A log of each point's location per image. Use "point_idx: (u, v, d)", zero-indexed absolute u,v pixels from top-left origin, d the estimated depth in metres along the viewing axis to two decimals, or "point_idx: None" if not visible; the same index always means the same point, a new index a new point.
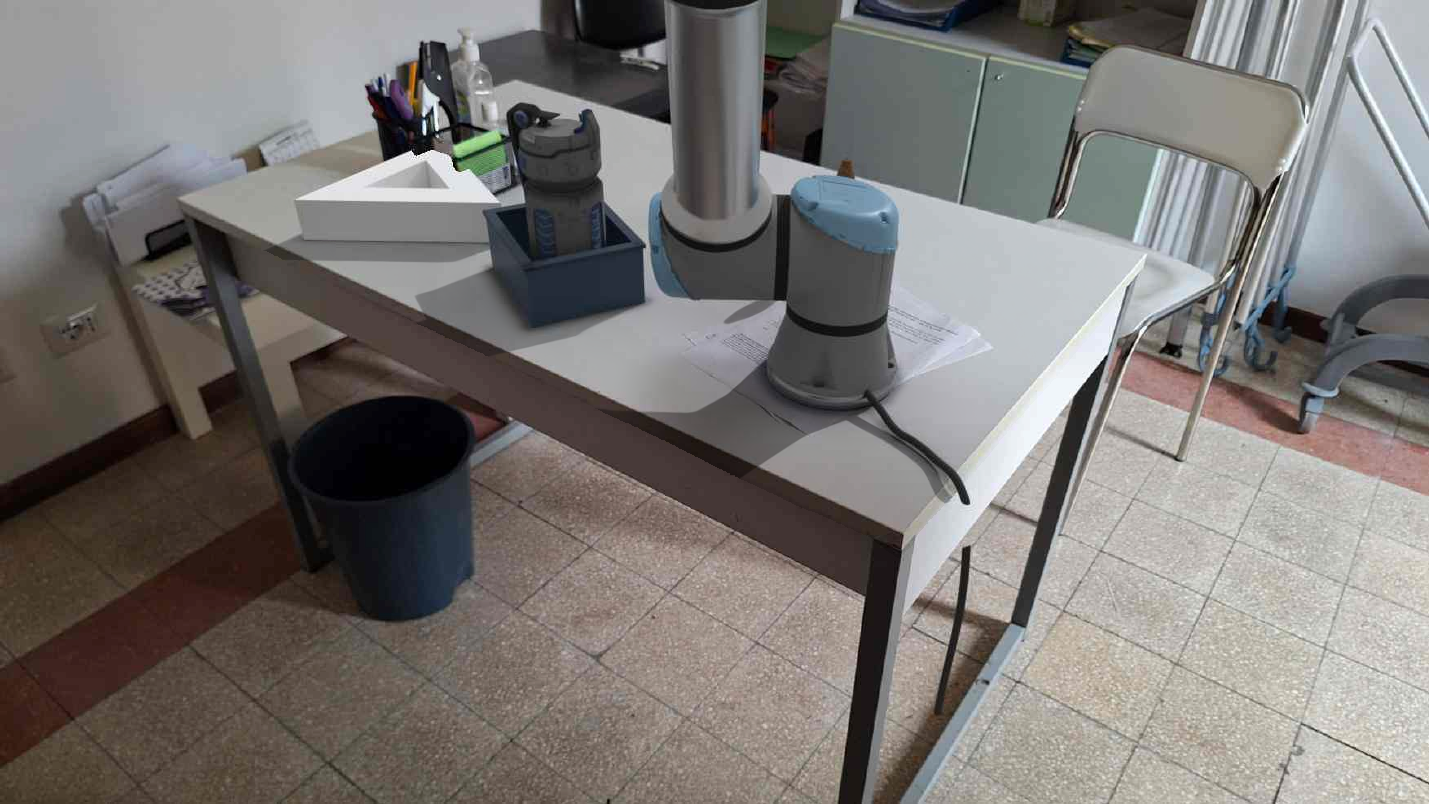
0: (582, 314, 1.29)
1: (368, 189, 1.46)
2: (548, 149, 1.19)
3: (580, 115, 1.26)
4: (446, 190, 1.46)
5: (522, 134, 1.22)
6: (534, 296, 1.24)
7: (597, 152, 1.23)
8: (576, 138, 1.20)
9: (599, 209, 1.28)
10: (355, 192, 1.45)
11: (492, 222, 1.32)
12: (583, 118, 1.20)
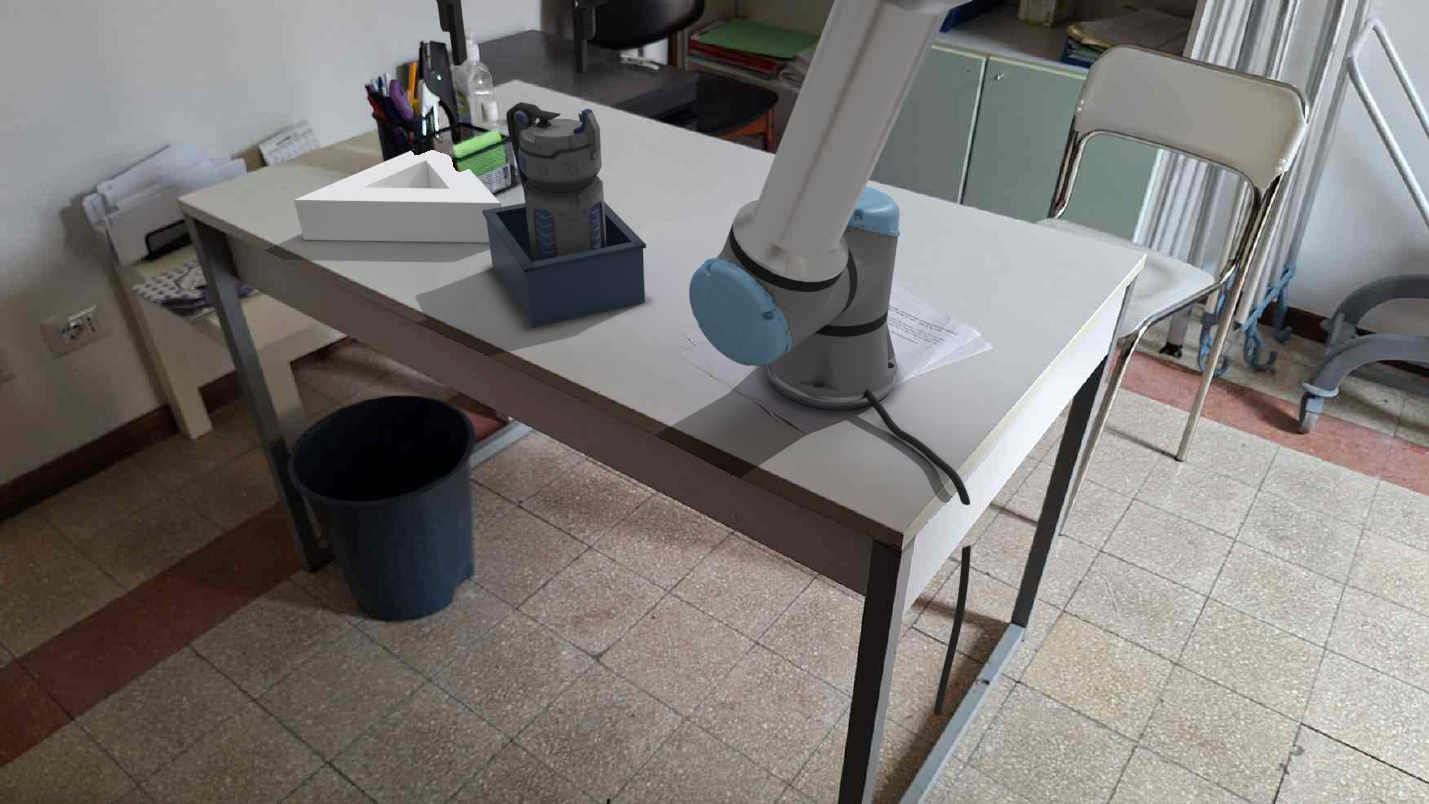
0: (582, 314, 1.29)
1: (368, 189, 1.46)
2: (548, 149, 1.19)
3: (580, 115, 1.26)
4: (446, 190, 1.46)
5: (522, 134, 1.22)
6: (534, 296, 1.24)
7: (597, 152, 1.23)
8: (576, 138, 1.20)
9: (599, 209, 1.28)
10: (355, 192, 1.45)
11: (492, 222, 1.32)
12: (583, 118, 1.20)
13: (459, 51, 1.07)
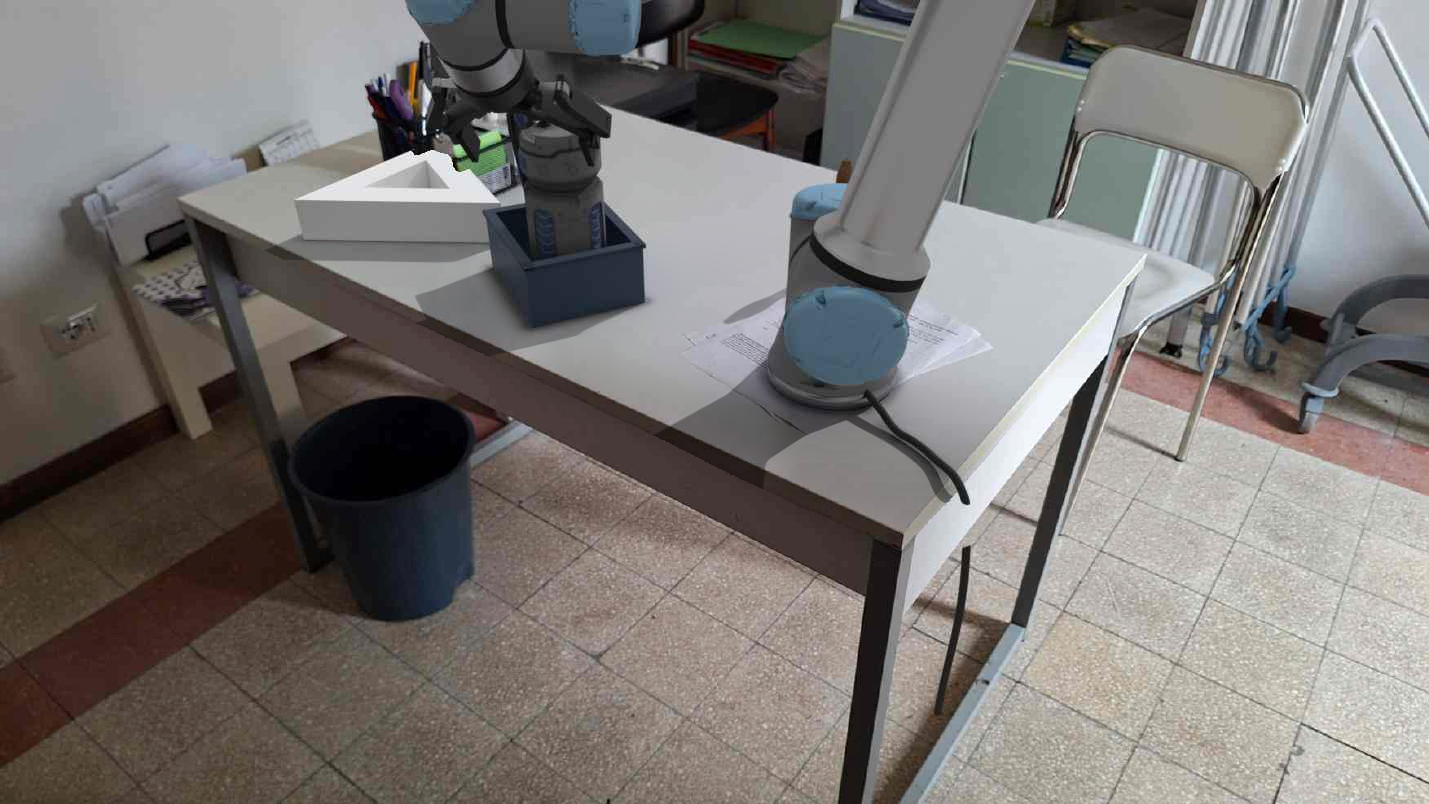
0: (582, 314, 1.29)
1: (368, 189, 1.46)
2: (548, 149, 1.19)
3: None
4: (446, 190, 1.46)
5: (522, 134, 1.22)
6: (534, 296, 1.24)
7: (597, 152, 1.23)
8: (576, 138, 1.20)
9: (599, 209, 1.28)
10: (355, 192, 1.45)
11: (492, 222, 1.32)
12: None
13: (475, 154, 1.13)
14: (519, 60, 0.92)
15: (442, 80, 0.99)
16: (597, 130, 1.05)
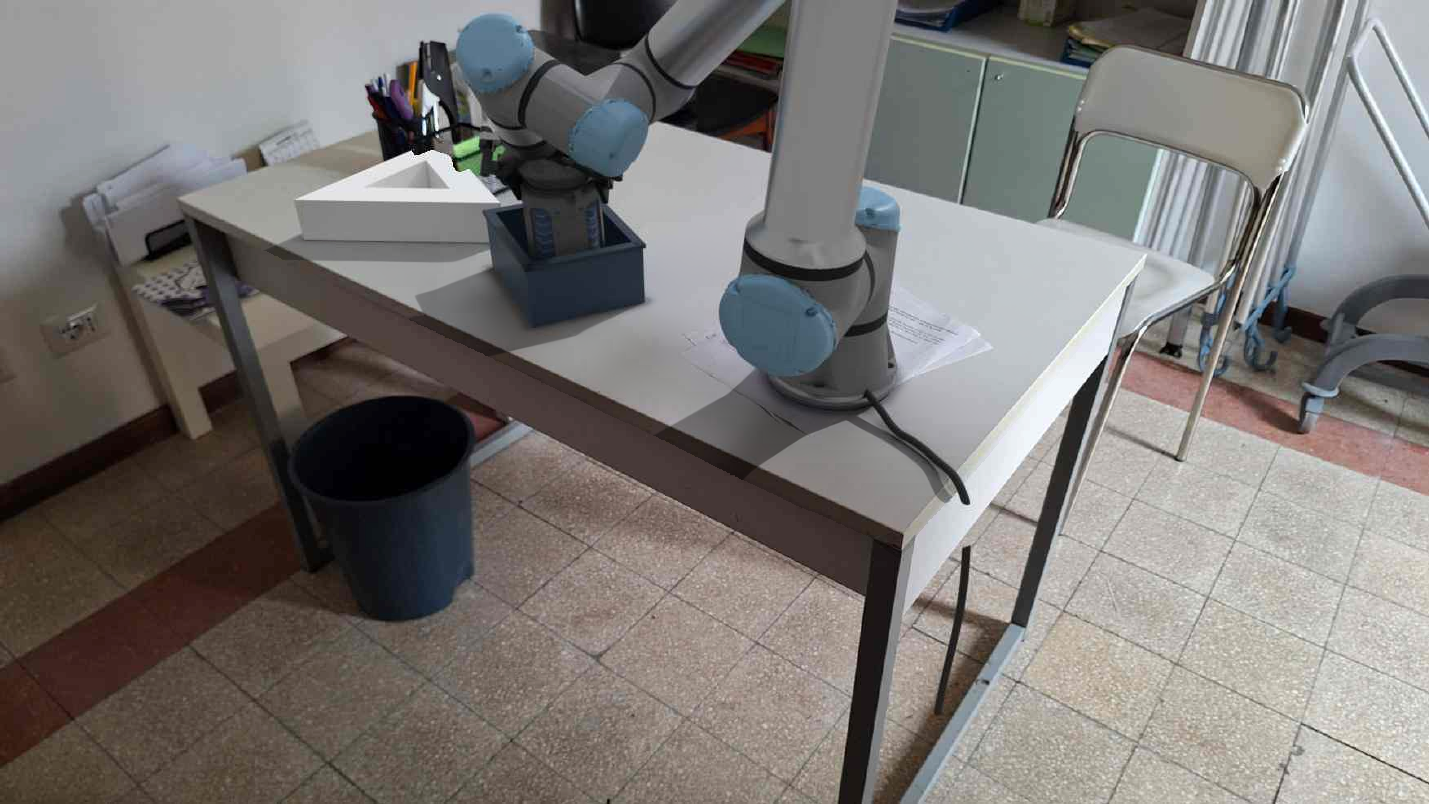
0: (582, 314, 1.29)
1: (368, 189, 1.46)
2: None
3: None
4: (446, 190, 1.46)
5: None
6: (534, 296, 1.24)
7: None
8: None
9: (596, 206, 1.28)
10: (355, 192, 1.45)
11: (492, 222, 1.32)
12: None
13: (520, 193, 1.30)
14: None
15: (487, 133, 1.15)
16: None
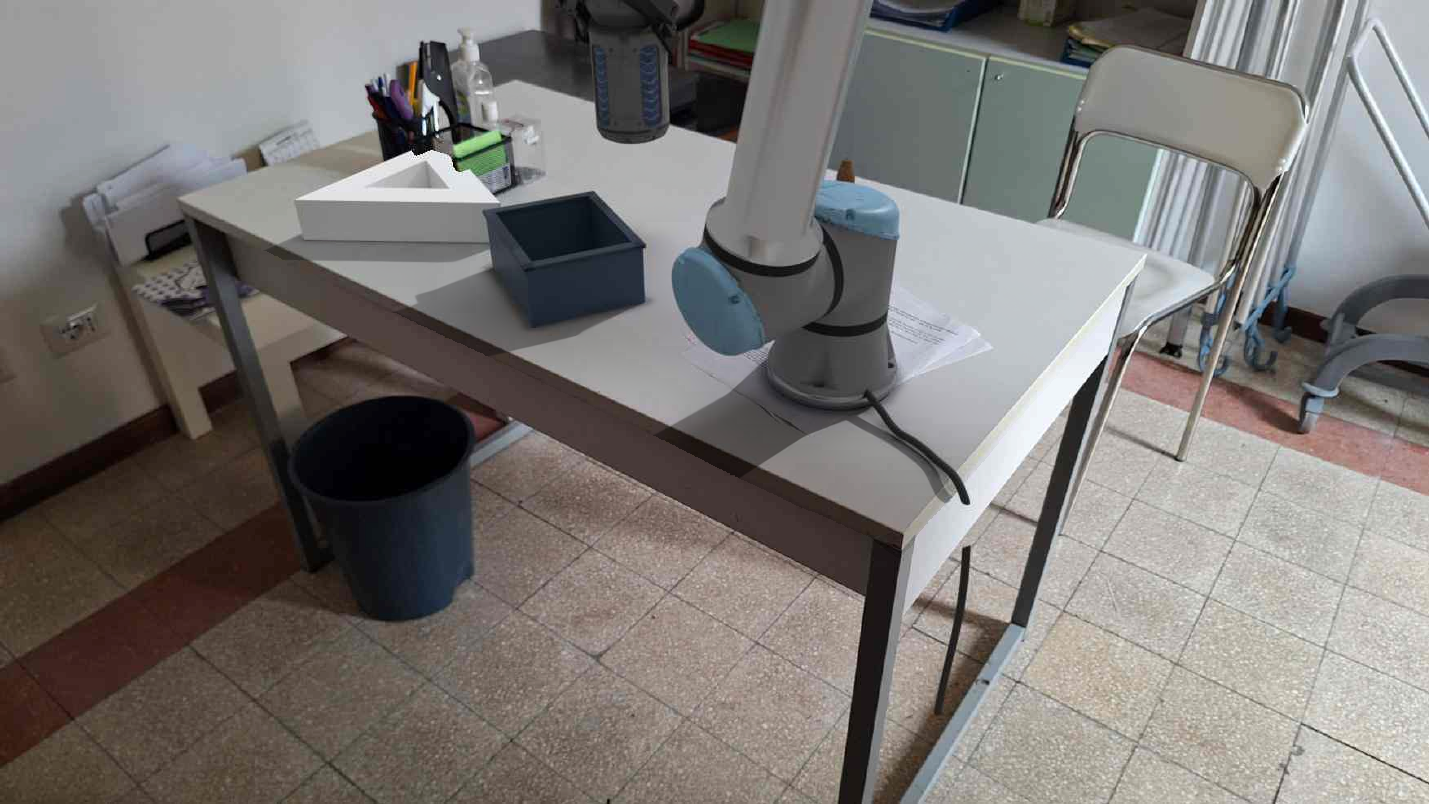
0: (582, 314, 1.29)
1: (368, 189, 1.46)
2: None
3: None
4: (446, 190, 1.46)
5: None
6: (534, 296, 1.24)
7: None
8: None
9: (656, 53, 1.29)
10: (355, 192, 1.45)
11: (492, 222, 1.32)
12: None
13: None
14: None
15: None
16: (662, 16, 1.22)
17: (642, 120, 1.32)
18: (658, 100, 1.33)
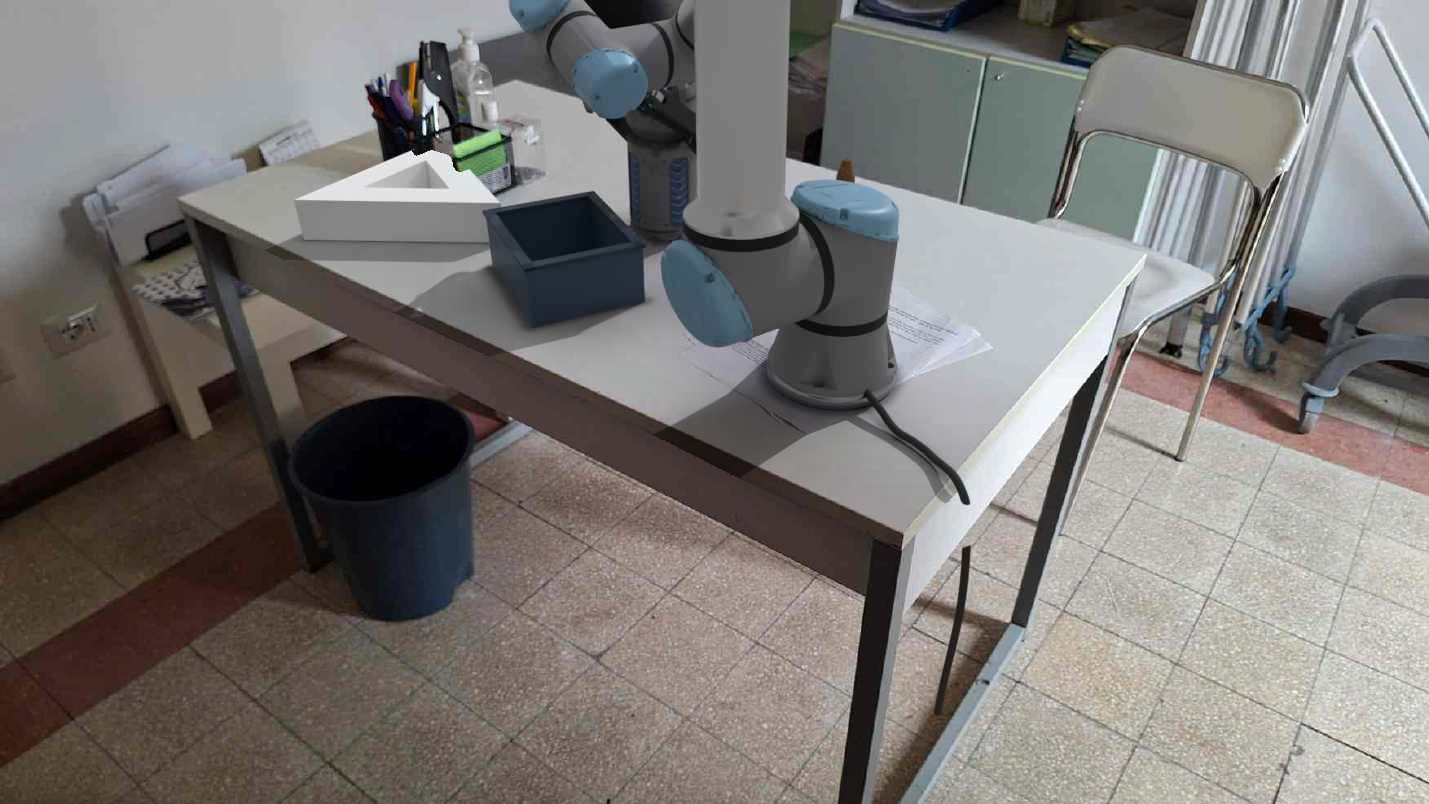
0: (582, 314, 1.29)
1: (368, 189, 1.46)
2: None
3: None
4: (446, 190, 1.46)
5: None
6: (534, 296, 1.24)
7: None
8: None
9: (685, 164, 1.41)
10: (355, 192, 1.45)
11: (492, 222, 1.32)
12: None
13: (626, 135, 1.47)
14: None
15: None
16: (689, 132, 1.33)
17: (669, 222, 1.44)
18: (685, 204, 1.45)
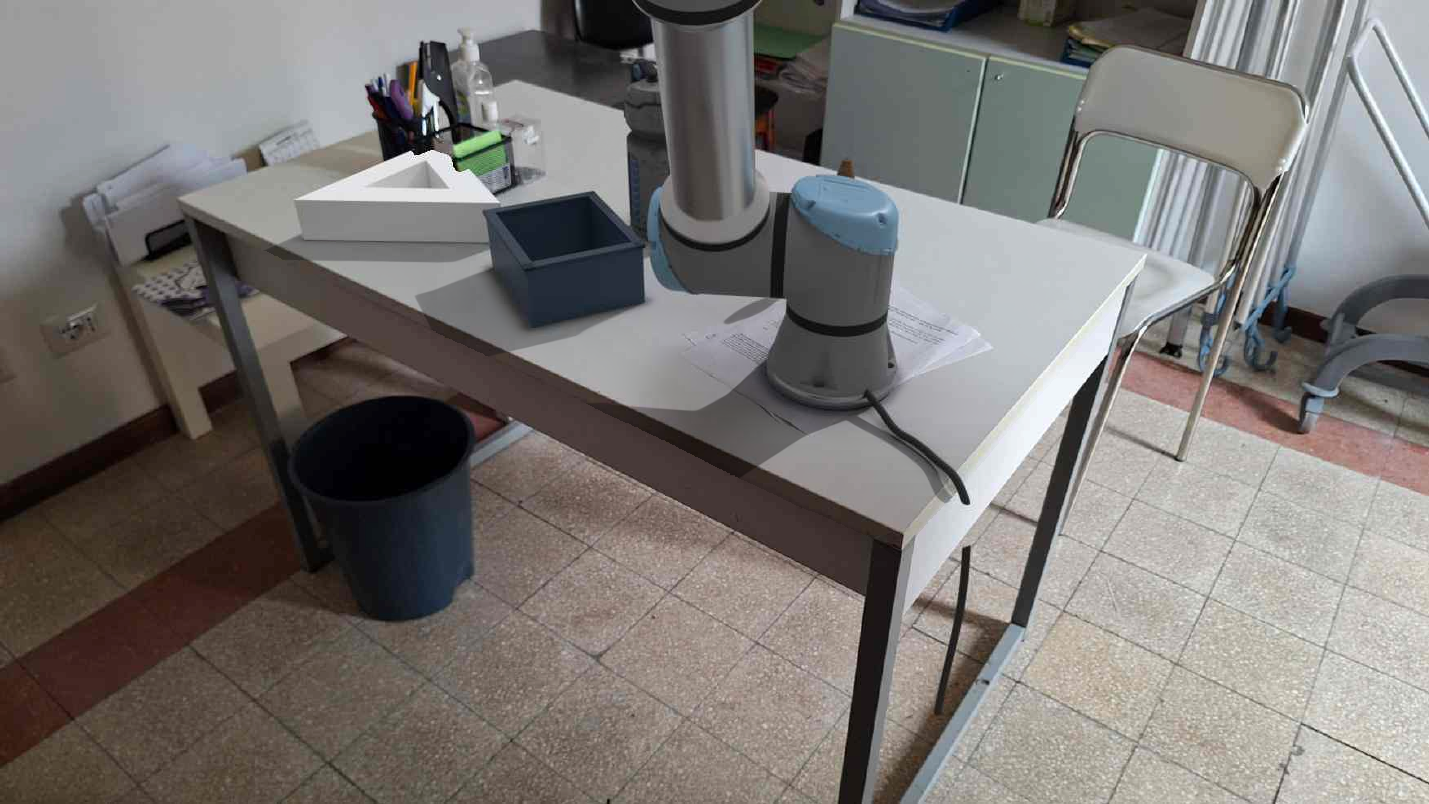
0: (582, 314, 1.29)
1: (368, 189, 1.46)
2: (636, 100, 1.35)
3: None
4: (446, 190, 1.46)
5: (630, 85, 1.39)
6: (534, 296, 1.24)
7: None
8: None
9: None
10: (355, 192, 1.45)
11: (492, 222, 1.32)
12: None
13: None
14: None
15: None
16: None
17: None
18: None
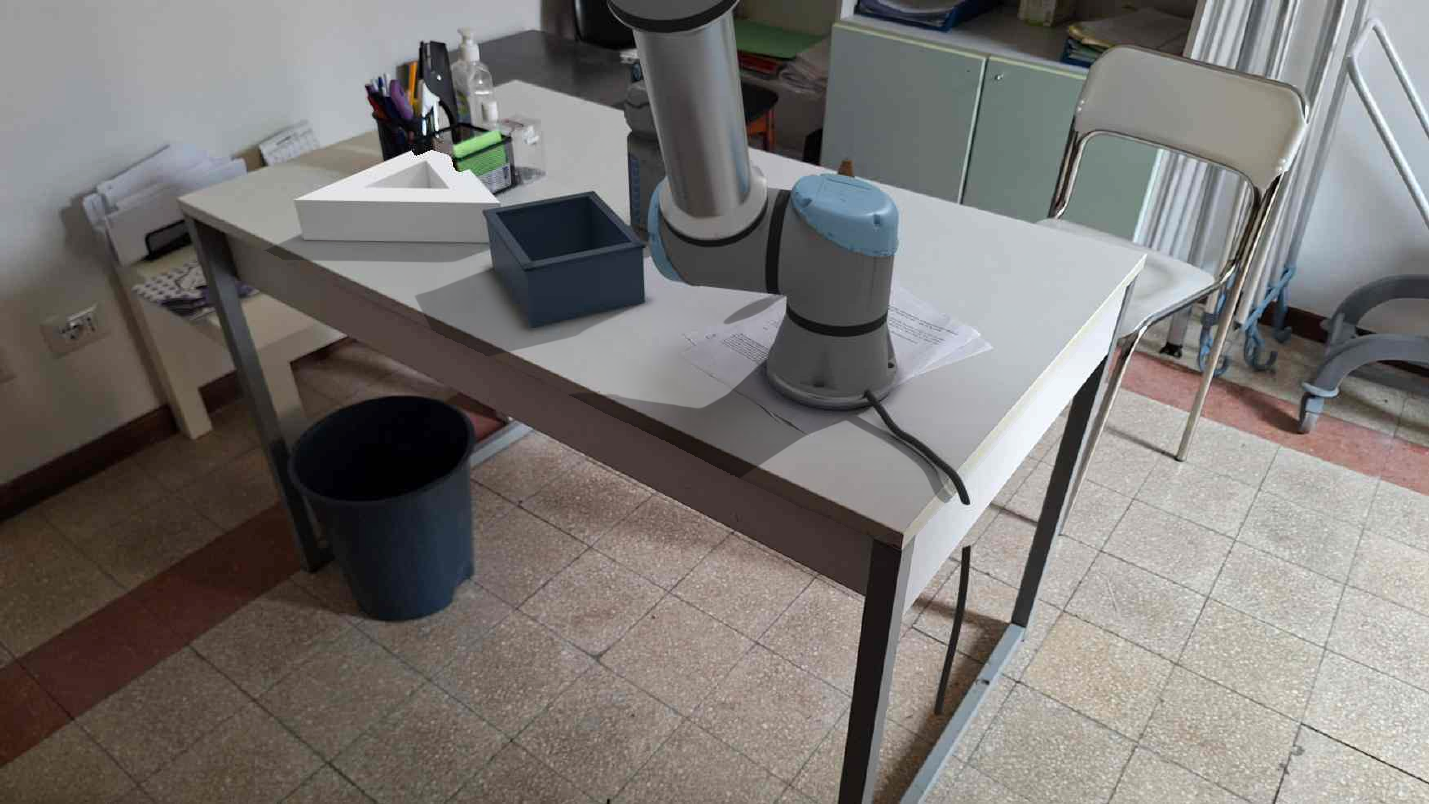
0: (582, 314, 1.29)
1: (368, 189, 1.46)
2: (637, 100, 1.35)
3: None
4: (446, 190, 1.46)
5: (631, 85, 1.39)
6: (534, 296, 1.24)
7: None
8: None
9: None
10: (355, 192, 1.45)
11: (492, 222, 1.32)
12: None
13: None
14: None
15: None
16: None
17: None
18: None
